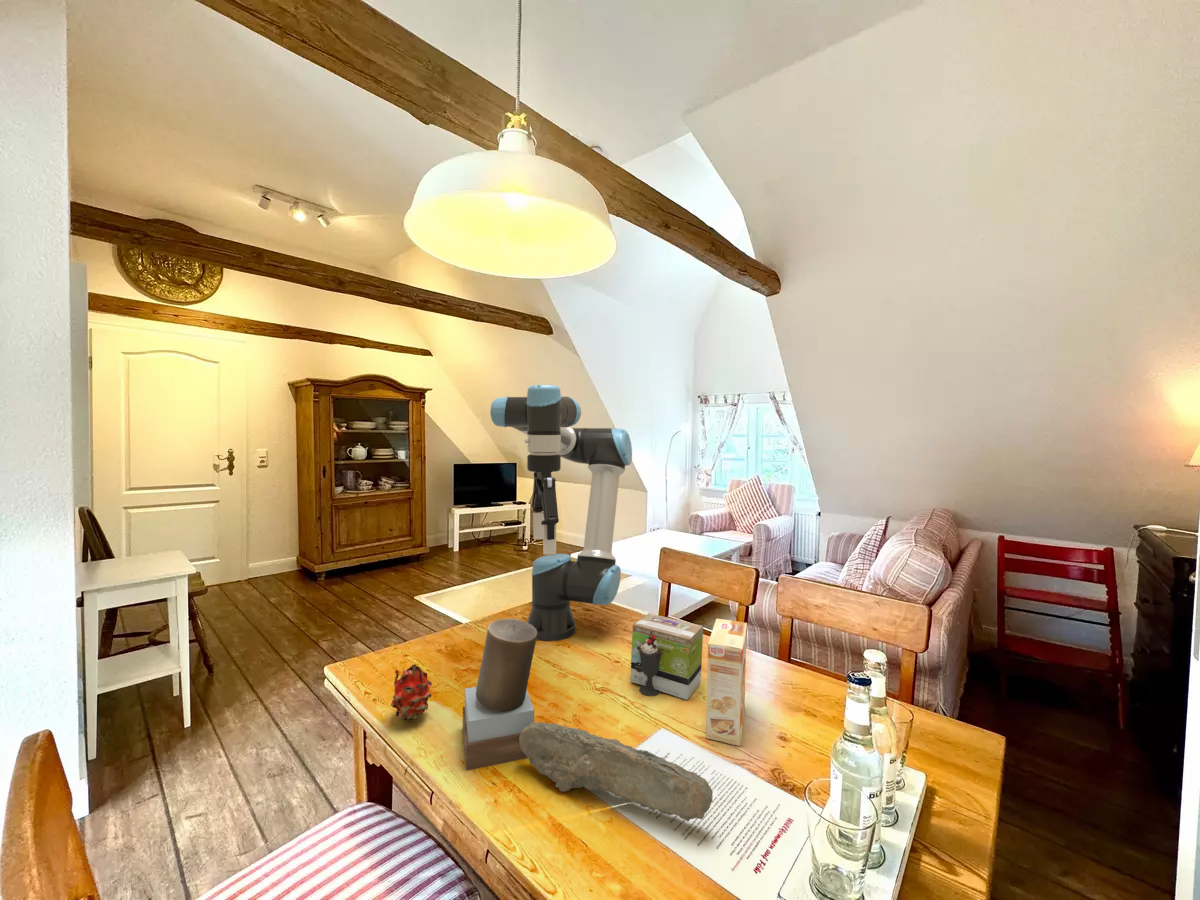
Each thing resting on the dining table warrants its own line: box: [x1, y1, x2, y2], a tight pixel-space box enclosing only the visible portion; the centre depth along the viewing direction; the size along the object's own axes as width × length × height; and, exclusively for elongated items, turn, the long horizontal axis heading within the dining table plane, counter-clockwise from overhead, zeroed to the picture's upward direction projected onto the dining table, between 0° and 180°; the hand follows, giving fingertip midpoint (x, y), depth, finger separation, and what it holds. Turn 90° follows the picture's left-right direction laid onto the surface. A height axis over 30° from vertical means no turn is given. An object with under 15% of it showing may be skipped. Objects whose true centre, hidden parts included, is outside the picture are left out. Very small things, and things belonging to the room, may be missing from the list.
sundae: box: [637, 631, 664, 697], centre depth 116 cm, size 7×7×15 cm
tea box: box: [630, 612, 704, 701], centre depth 119 cm, size 15×10×15 cm, turn 60°
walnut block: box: [462, 706, 536, 771], centre depth 96 cm, size 13×13×5 cm
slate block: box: [464, 686, 535, 743], centre depth 96 cm, size 12×12×4 cm
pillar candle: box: [475, 618, 537, 711], centre depth 95 cm, size 10×10×15 cm
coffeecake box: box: [705, 618, 748, 747], centre depth 103 cm, size 15×7×20 cm, turn 160°
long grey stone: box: [519, 721, 714, 822], centre depth 82 cm, size 35×5×10 cm, turn 67°
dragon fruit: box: [390, 663, 433, 721], centre depth 103 cm, size 8×8×12 cm
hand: (544, 546), depth 112 cm, fingers open, 13 cm apart
